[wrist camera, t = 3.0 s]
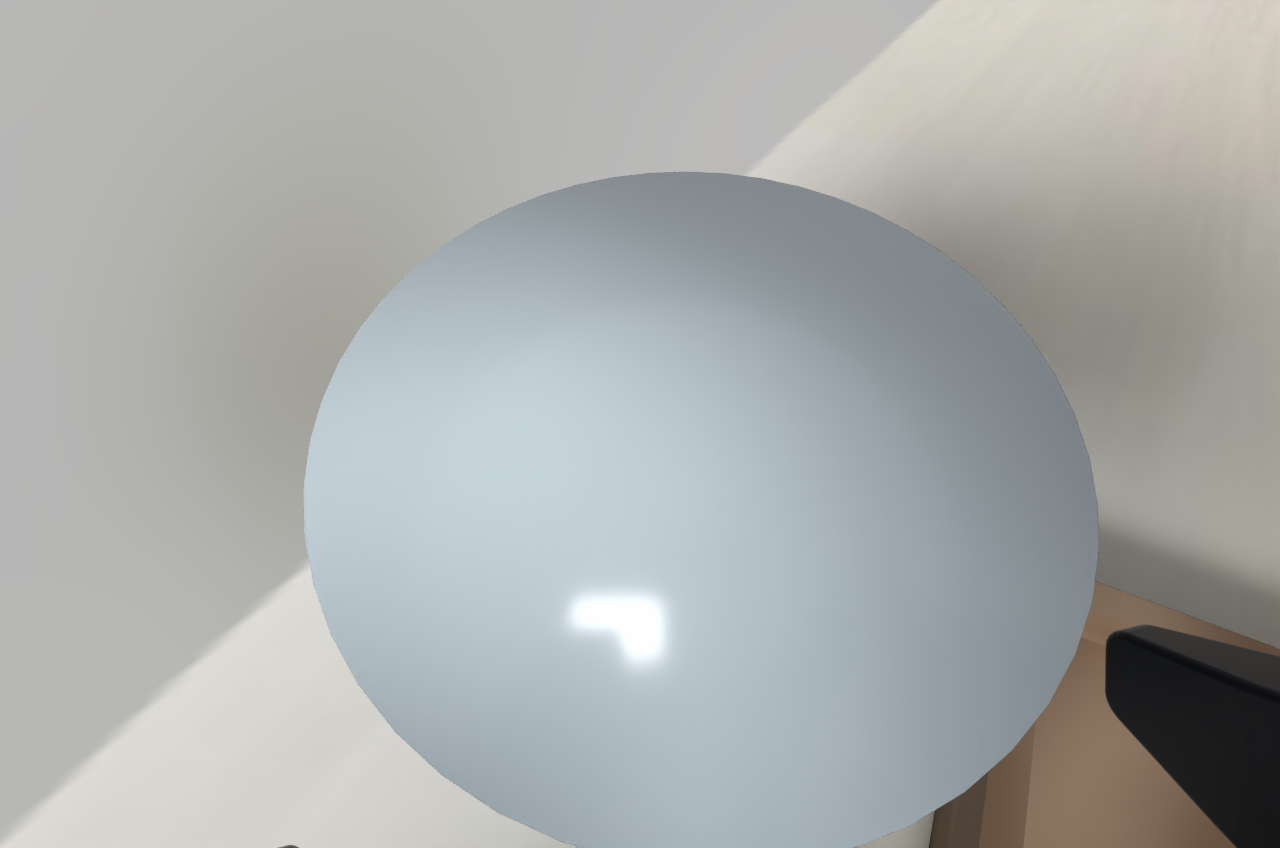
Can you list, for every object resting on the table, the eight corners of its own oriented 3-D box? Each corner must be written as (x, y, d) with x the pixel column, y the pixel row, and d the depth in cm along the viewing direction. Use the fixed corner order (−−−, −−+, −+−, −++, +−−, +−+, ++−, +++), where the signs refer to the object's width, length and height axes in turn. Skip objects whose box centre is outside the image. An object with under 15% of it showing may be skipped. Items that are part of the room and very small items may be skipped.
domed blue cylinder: (814, 620, 17) (1113, 269, 6) (737, 884, 14) (1065, 1131, 3) (605, 532, 19) (544, 120, 8) (492, 753, 15) (115, 598, 4)
